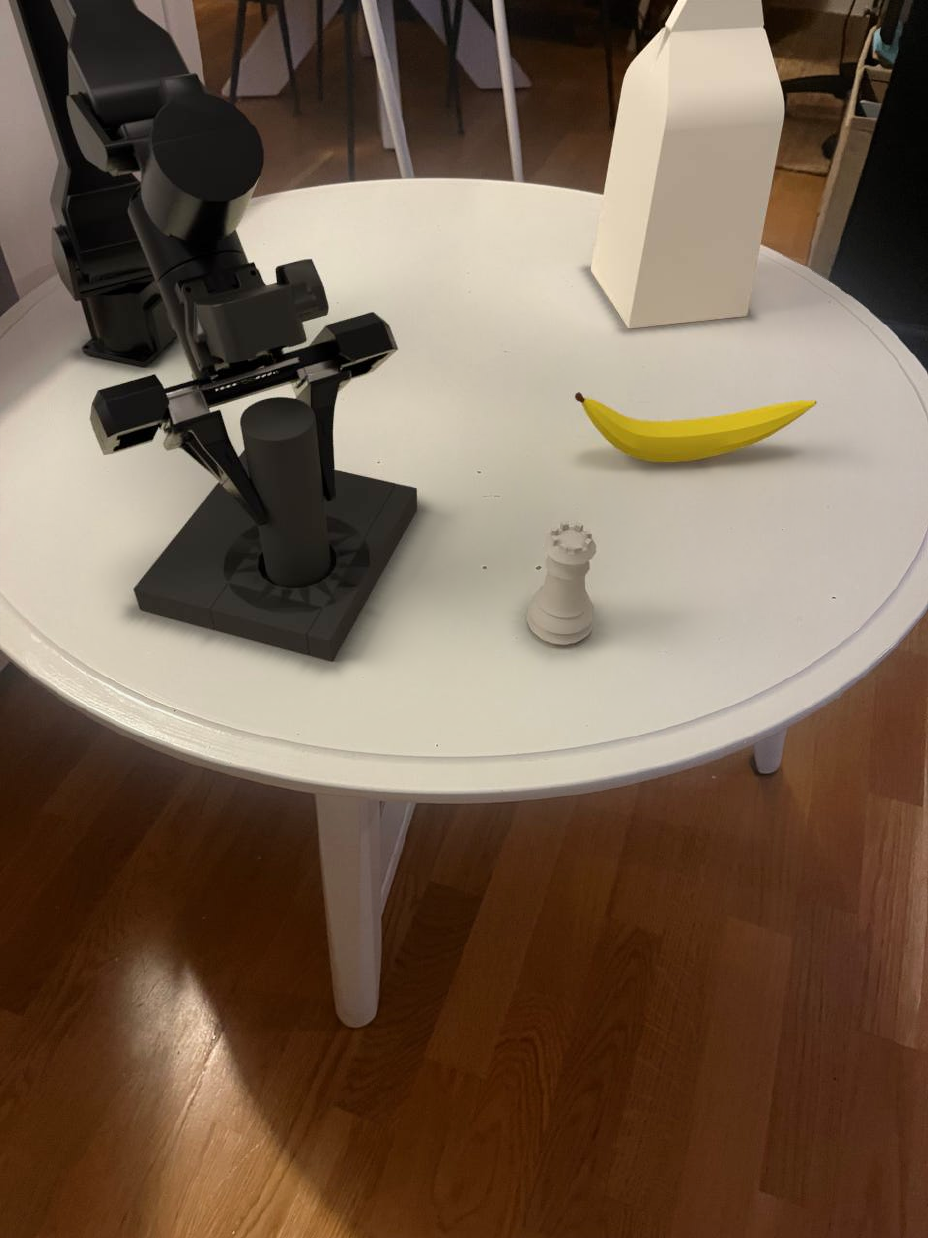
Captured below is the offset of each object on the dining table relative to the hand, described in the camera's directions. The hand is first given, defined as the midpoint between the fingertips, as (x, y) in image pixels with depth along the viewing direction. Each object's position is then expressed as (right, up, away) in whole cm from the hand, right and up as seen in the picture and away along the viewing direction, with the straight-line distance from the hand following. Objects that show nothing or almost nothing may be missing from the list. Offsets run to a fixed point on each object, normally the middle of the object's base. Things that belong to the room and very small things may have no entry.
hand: (297, 512), depth 61 cm
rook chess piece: (+17, -7, +4) cm, 19 cm away
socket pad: (-2, -2, +8) cm, 8 cm away
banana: (+28, +6, +17) cm, 33 cm away
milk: (+30, +25, +35) cm, 53 cm away
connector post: (-1, -4, +6) cm, 7 cm away
